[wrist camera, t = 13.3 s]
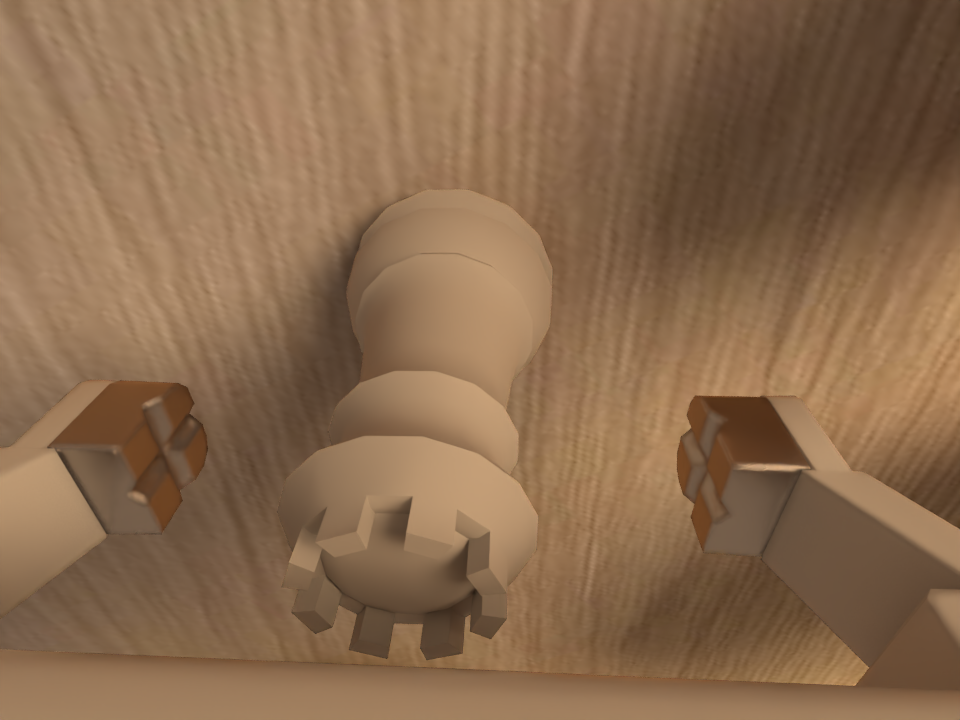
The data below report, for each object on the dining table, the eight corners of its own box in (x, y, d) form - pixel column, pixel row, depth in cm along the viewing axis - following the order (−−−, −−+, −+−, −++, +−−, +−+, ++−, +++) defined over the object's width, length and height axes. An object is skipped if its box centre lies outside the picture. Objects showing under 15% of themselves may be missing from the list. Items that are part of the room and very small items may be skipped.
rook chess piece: (392, 369, 14) (292, 705, 8) (328, 204, 12) (101, 490, 5) (564, 342, 14) (616, 686, 7) (535, 159, 11) (571, 428, 5)
